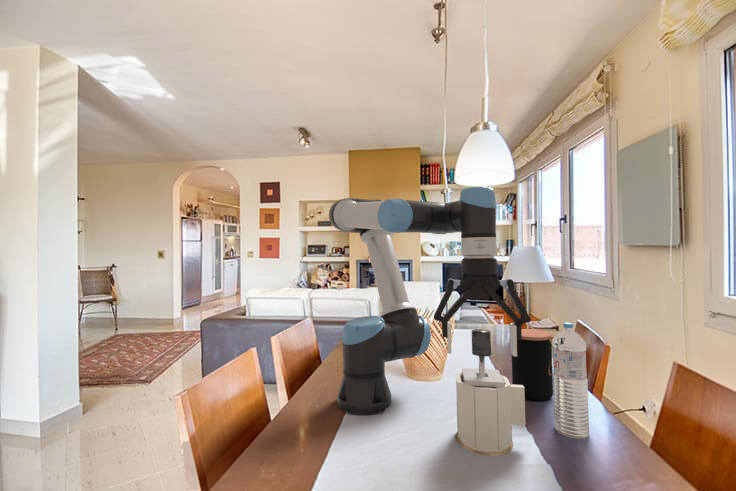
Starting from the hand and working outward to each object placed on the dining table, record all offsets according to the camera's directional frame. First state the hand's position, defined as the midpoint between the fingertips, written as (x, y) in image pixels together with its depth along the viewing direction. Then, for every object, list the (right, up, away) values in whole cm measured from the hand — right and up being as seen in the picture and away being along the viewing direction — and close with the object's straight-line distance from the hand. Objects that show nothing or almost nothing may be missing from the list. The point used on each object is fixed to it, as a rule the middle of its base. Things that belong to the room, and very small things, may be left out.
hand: (481, 353), depth 76 cm
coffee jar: (+23, -20, +23) cm, 38 cm away
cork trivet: (0, -19, -1) cm, 19 cm away
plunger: (0, -17, -1) cm, 17 cm away
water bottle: (+21, -19, +2) cm, 29 cm away
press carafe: (+2, -19, -1) cm, 19 cm away
